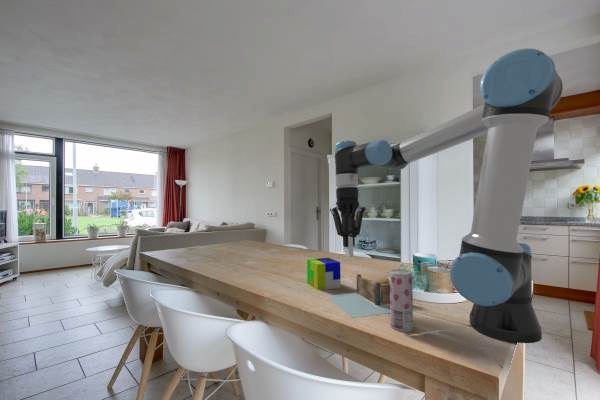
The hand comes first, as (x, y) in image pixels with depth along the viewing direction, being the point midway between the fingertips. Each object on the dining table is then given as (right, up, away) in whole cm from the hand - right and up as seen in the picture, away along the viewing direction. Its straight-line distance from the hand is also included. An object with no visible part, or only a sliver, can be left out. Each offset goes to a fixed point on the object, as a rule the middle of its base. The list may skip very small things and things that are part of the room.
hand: (349, 256), depth 95 cm
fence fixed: (+13, -14, -3) cm, 20 cm away
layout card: (+6, -15, -2) cm, 16 cm away
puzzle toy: (-7, -16, +18) cm, 25 cm away
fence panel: (+6, -15, +1) cm, 16 cm away
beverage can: (+10, -15, -21) cm, 28 cm away
